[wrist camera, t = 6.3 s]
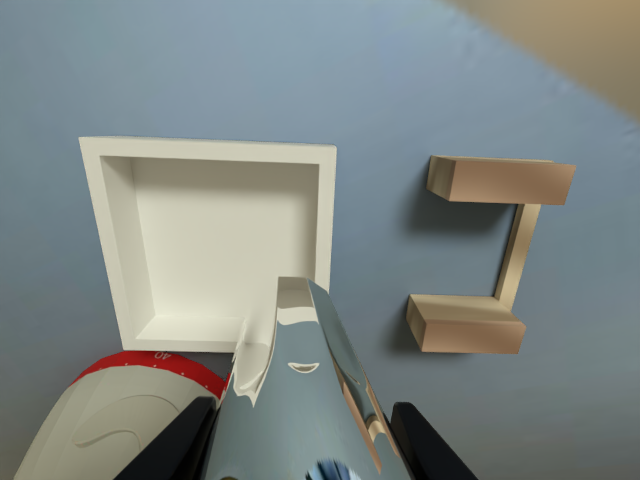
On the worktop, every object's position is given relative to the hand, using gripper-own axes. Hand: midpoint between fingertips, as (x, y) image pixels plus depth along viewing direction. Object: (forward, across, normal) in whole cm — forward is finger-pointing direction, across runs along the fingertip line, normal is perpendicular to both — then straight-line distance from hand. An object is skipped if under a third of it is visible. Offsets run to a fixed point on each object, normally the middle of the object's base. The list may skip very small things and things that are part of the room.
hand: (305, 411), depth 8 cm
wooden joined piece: (+13, -10, 0) cm, 16 cm away
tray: (+13, +5, 0) cm, 14 cm away
